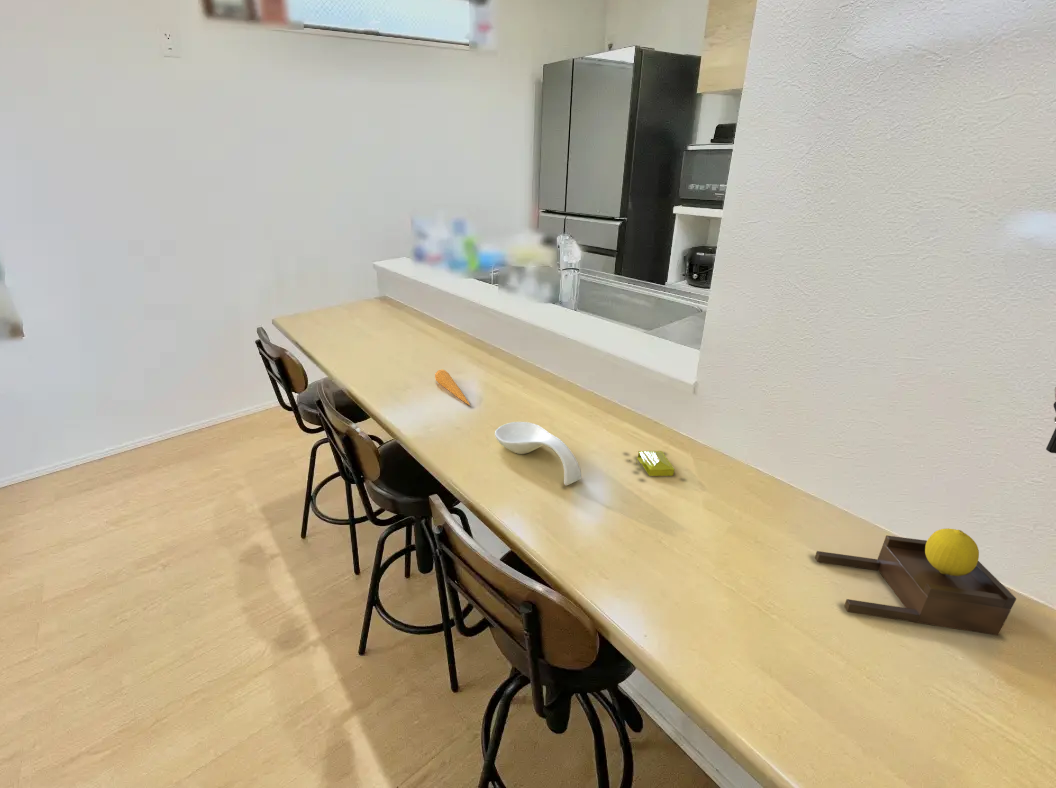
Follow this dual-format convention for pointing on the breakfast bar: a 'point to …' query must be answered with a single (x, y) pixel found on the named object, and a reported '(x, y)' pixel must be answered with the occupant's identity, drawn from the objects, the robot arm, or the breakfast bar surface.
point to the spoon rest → (538, 445)
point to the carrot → (449, 384)
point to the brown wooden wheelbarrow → (930, 589)
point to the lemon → (952, 552)
